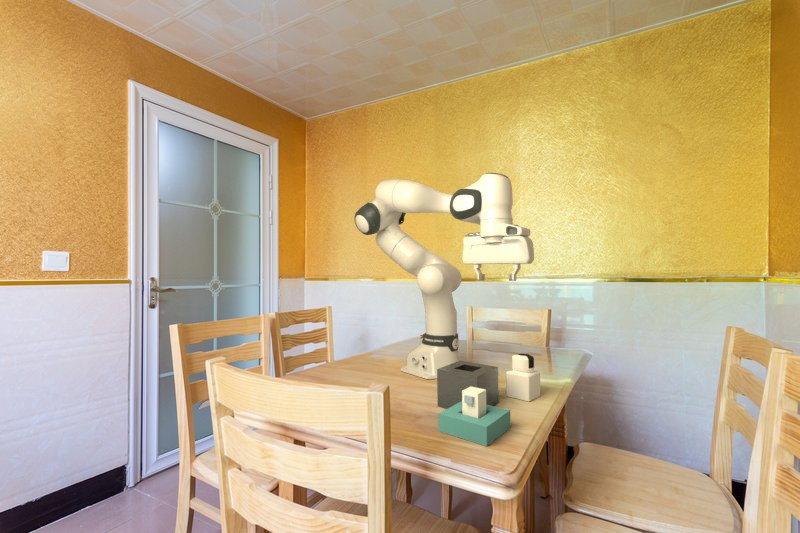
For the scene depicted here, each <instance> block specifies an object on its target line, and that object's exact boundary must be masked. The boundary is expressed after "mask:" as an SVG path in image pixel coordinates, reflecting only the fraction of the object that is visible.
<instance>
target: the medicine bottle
mask: <svg viewBox="0 0 800 533" xmlns="http://www.w3.org/2000/svg"><path fill="white" fill-rule="evenodd" d="M511 368H512V369H510V370H507V371H506V372H505V383H506V384H505V389H506V391H505V392H506V393H505V394H506V397H508V398H512V399H517V400H520V401H524V402H531V401H533V400H535V399H537V398H540V397H541V372H540V371H538V370H535V358H534V356H533V355H531V354H528V353H515V354H513V355H512V356H511Z"/></svg>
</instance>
